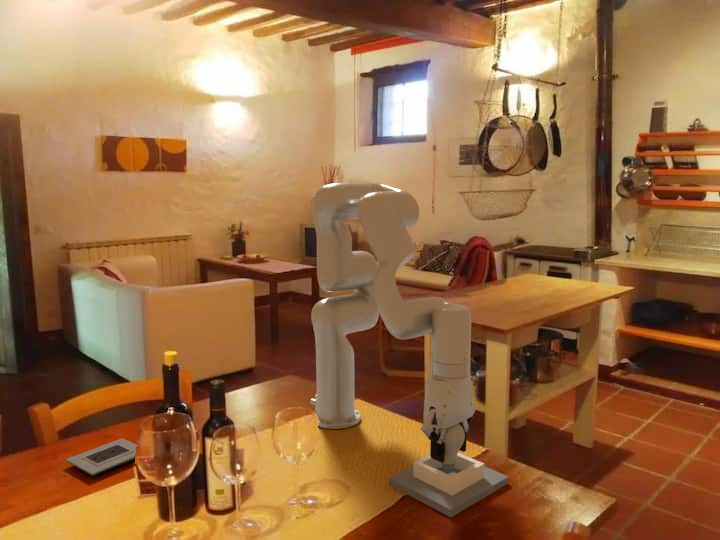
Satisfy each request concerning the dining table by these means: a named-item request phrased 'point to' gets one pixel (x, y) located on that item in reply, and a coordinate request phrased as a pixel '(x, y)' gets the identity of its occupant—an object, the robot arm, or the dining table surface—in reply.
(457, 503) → the lamp base
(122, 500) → the dining table surface
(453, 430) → the lightbulb
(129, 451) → the electrical outlet
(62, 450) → the dining table surface
